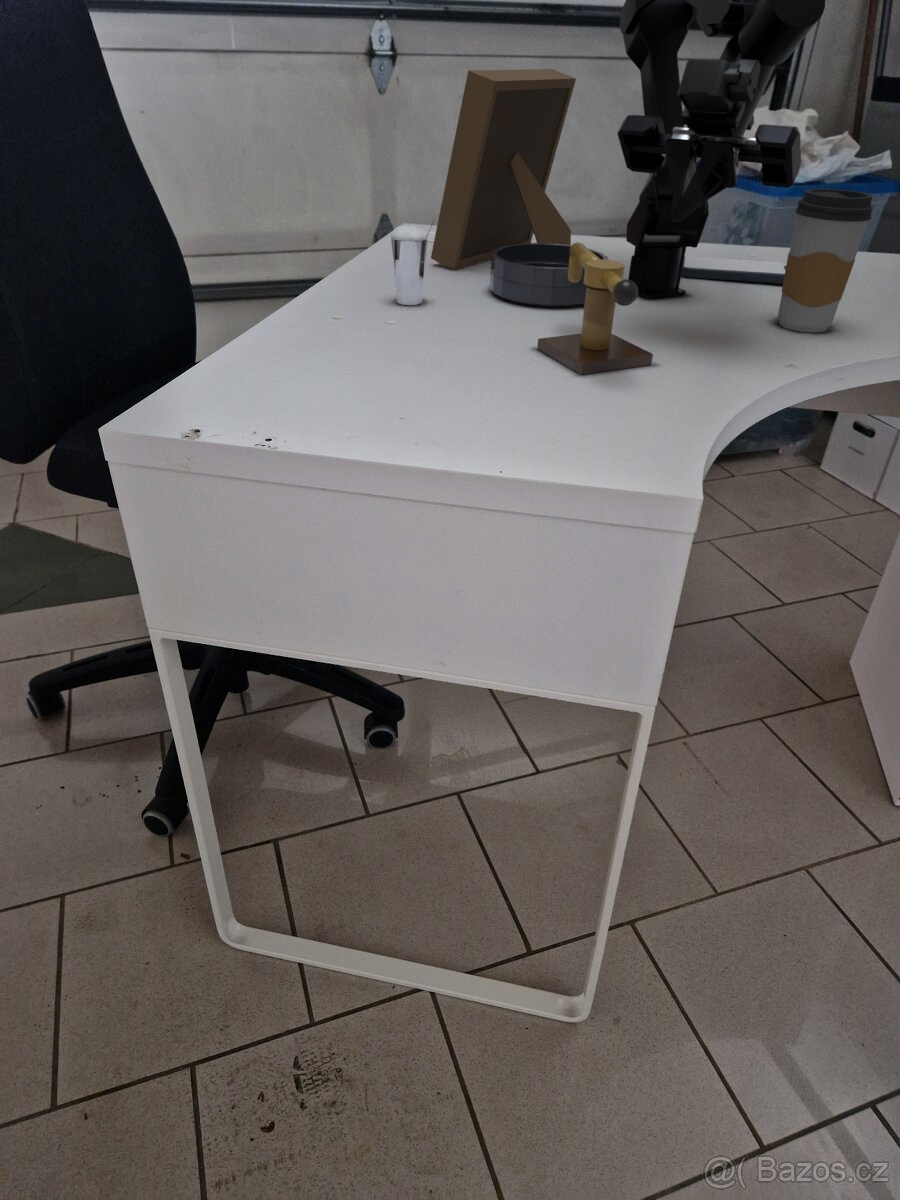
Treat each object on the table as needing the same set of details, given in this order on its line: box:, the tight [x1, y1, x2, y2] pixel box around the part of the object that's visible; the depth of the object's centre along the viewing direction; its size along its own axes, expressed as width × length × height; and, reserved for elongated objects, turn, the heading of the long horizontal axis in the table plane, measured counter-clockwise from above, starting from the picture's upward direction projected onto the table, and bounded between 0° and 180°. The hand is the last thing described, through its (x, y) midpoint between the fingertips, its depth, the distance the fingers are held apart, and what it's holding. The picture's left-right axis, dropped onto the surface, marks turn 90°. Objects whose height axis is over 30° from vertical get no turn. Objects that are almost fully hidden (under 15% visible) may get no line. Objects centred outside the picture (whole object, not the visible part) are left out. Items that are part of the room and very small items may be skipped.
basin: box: [489, 242, 609, 308], centre depth 111 cm, size 15×15×5 cm
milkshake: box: [390, 219, 435, 306], centre depth 104 cm, size 5×5×10 cm
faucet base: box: [536, 286, 654, 376], centre depth 89 cm, size 9×9×7 cm
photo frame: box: [430, 68, 577, 271], centre depth 121 cm, size 15×22×25 cm
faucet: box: [568, 242, 639, 307], centre depth 88 cm, size 21×4×5 cm, turn 7°
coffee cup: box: [777, 188, 874, 334], centre depth 99 cm, size 8×8×15 cm
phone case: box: [681, 256, 787, 285], centre depth 124 cm, size 9×2×16 cm
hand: (675, 218), depth 87 cm, fingers closed
